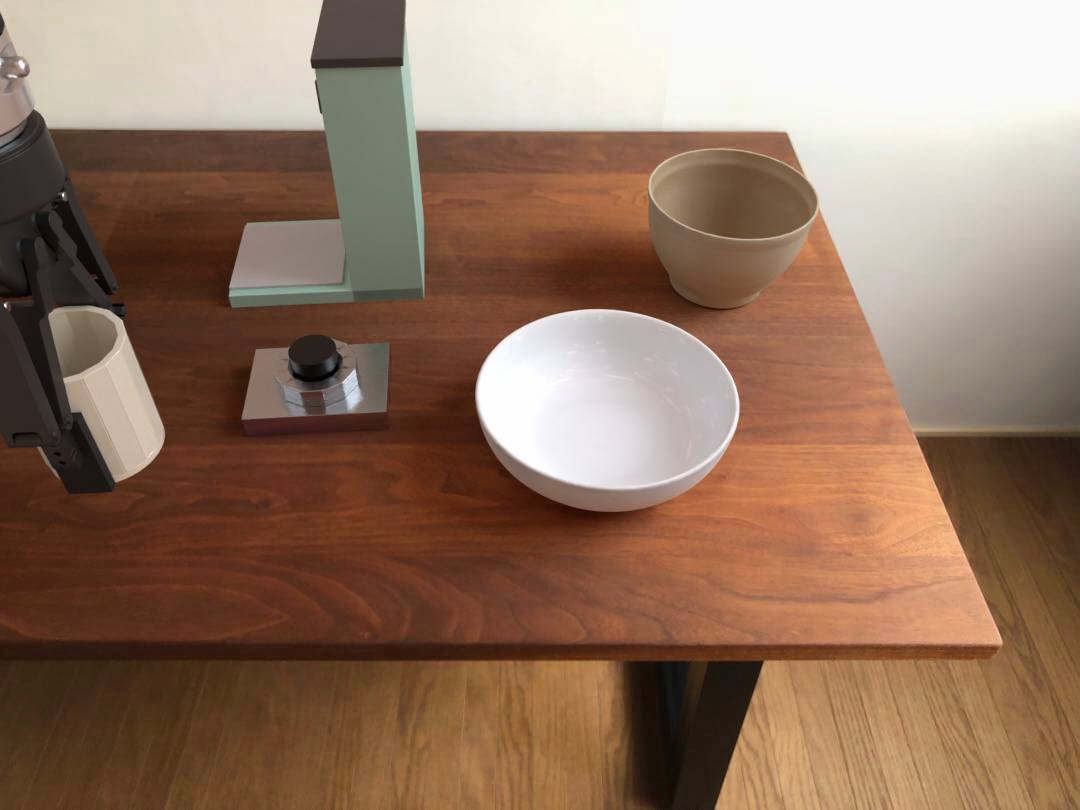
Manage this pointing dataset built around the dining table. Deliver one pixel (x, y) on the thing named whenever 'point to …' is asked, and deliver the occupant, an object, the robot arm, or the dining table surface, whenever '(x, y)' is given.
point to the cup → (107, 387)
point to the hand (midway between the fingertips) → (108, 441)
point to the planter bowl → (727, 222)
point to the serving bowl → (606, 408)
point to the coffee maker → (350, 176)
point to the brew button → (313, 358)
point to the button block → (319, 393)
